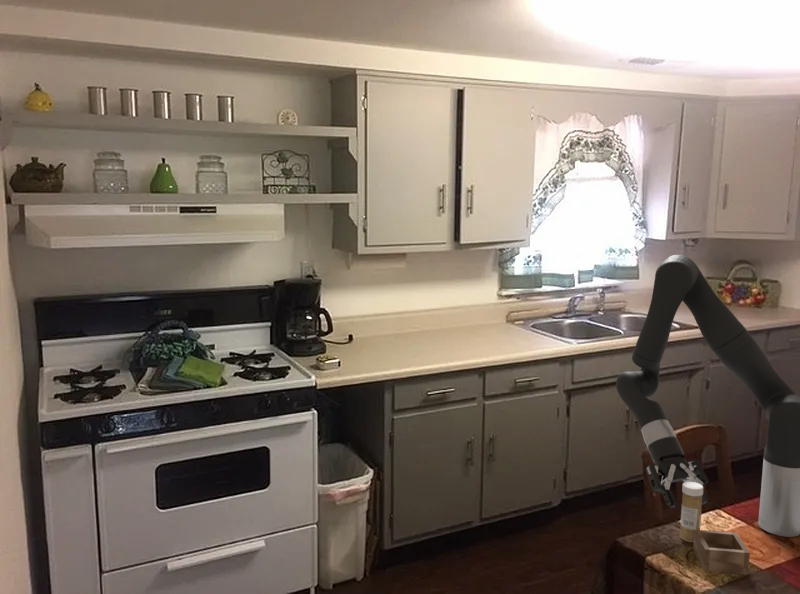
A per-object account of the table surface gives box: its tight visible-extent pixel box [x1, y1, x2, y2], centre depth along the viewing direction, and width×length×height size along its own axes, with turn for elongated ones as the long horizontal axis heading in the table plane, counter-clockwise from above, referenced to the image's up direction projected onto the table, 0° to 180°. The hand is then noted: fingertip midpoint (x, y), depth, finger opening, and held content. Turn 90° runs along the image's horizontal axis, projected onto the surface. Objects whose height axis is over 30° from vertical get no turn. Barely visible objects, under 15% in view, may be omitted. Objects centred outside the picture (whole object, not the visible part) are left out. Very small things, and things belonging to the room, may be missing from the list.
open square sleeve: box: [692, 529, 751, 576], centre depth 150 cm, size 9×9×5 cm
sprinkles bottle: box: [679, 481, 704, 544], centre depth 160 cm, size 5×5×13 cm
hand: (689, 504), depth 160 cm, fingers open, 8 cm apart
